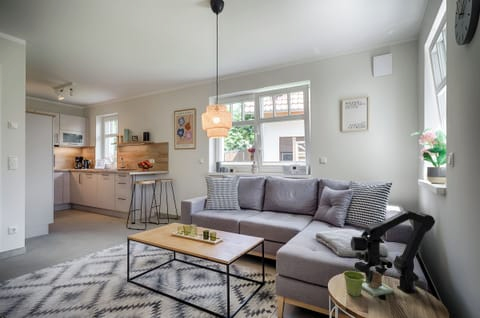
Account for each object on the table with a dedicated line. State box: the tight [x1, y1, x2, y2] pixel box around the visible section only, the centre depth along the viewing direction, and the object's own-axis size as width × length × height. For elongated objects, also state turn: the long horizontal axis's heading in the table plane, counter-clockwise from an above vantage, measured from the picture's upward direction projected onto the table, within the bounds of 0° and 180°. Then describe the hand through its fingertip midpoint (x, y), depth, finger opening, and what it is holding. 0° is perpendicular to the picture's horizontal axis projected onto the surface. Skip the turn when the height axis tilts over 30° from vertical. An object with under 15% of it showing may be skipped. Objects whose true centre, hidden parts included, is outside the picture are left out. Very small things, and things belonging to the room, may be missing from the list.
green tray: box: [361, 278, 394, 297], centre depth 122 cm, size 12×12×2 cm
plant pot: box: [342, 270, 366, 297], centre depth 118 cm, size 9×9×9 cm
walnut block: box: [365, 269, 383, 288], centre depth 122 cm, size 5×5×6 cm
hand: (373, 282), depth 122 cm, fingers closed on walnut block, 5 cm apart
